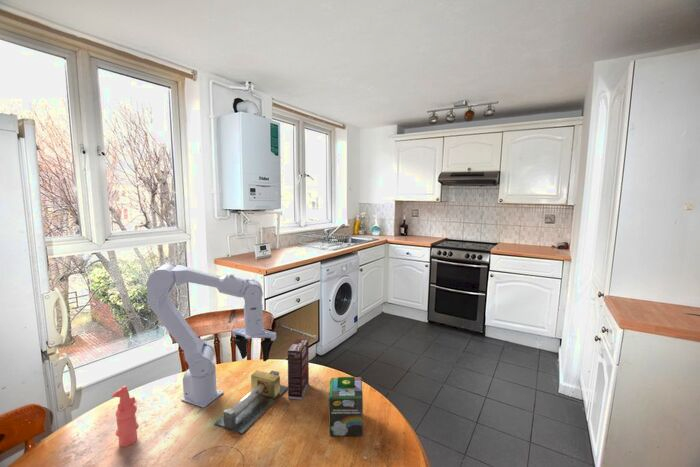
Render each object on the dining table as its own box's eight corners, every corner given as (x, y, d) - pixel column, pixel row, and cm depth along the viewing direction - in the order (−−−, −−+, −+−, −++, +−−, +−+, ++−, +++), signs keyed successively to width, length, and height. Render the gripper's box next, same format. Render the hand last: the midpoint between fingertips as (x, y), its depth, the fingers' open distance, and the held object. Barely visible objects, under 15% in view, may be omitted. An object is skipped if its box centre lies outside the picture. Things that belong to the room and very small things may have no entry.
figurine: (121, 452, 78) (116, 395, 76) (111, 443, 81) (106, 389, 79) (143, 438, 82) (139, 385, 81) (134, 431, 85) (129, 379, 83)
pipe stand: (242, 434, 84) (241, 416, 83) (214, 424, 88) (213, 407, 87) (288, 388, 104) (287, 373, 104) (264, 381, 108) (263, 367, 107)
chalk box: (362, 413, 92) (362, 365, 91) (363, 437, 83) (363, 384, 82) (330, 413, 92) (330, 365, 91) (328, 436, 83) (328, 384, 82)
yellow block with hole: (274, 398, 98) (274, 381, 97) (251, 391, 101) (251, 375, 101) (280, 392, 101) (279, 376, 100) (257, 386, 104) (257, 370, 103)
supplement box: (302, 400, 98) (301, 352, 96) (287, 399, 99) (286, 351, 97) (309, 384, 107) (309, 339, 105) (295, 383, 107) (295, 338, 105)
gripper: (226, 321, 99) (227, 362, 101) (268, 325, 96) (269, 367, 98) (238, 313, 106) (240, 351, 107) (278, 316, 103) (279, 356, 104)
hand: (255, 358), depth 103 cm, fingers open, 7 cm apart
